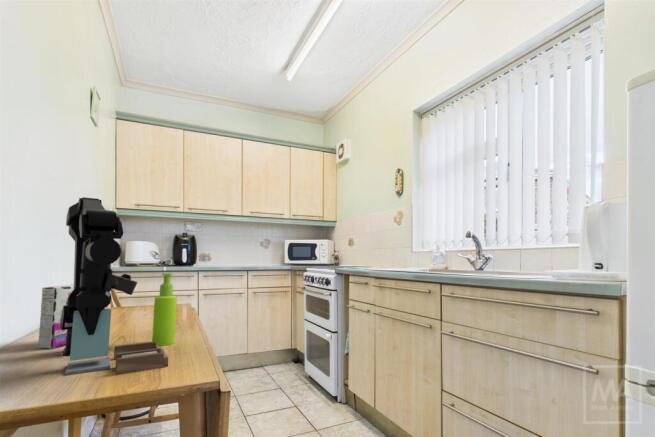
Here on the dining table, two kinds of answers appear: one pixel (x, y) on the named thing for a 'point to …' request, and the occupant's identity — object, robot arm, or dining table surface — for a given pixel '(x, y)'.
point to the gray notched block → (139, 354)
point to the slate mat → (87, 366)
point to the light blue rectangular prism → (90, 337)
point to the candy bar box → (53, 316)
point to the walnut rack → (139, 357)
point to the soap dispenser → (165, 314)
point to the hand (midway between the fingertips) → (91, 333)
